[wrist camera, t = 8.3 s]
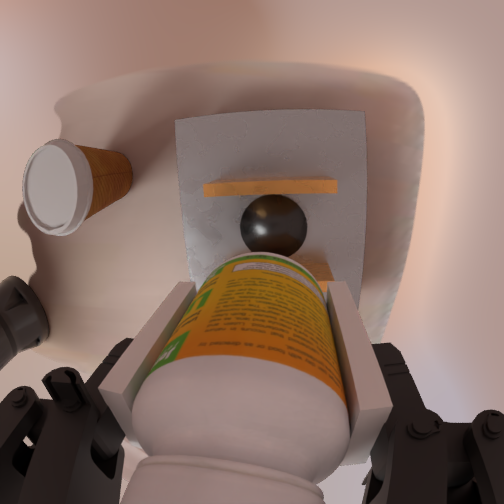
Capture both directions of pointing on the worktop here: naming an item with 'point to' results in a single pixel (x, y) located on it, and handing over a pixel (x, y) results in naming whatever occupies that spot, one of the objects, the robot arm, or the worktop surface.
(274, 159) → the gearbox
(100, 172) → the disposable coffee cup
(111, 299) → the worktop surface
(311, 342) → the supplement bottle
